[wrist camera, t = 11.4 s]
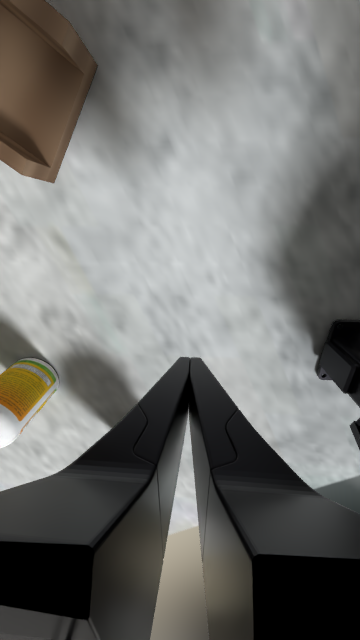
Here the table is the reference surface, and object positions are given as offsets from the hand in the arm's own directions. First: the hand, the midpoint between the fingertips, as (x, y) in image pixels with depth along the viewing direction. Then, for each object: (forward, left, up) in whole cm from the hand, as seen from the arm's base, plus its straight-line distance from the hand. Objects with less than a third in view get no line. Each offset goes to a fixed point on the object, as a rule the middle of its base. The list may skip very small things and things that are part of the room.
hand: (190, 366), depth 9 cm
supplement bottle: (+18, +11, -12) cm, 24 cm away
